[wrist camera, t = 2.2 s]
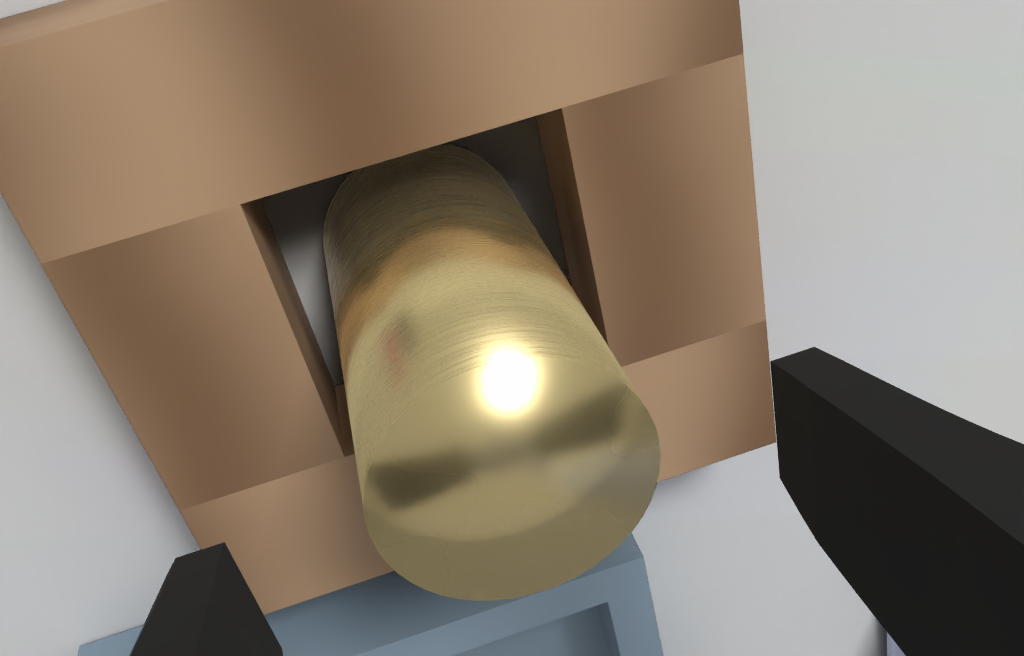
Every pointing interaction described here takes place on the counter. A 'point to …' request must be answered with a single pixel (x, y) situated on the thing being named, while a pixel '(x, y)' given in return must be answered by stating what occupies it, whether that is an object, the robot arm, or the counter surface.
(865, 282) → the counter surface
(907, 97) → the counter surface
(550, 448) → the brass peg
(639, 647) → the slate-blue tray
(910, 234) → the counter surface
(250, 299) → the walnut socket block
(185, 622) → the robot arm
